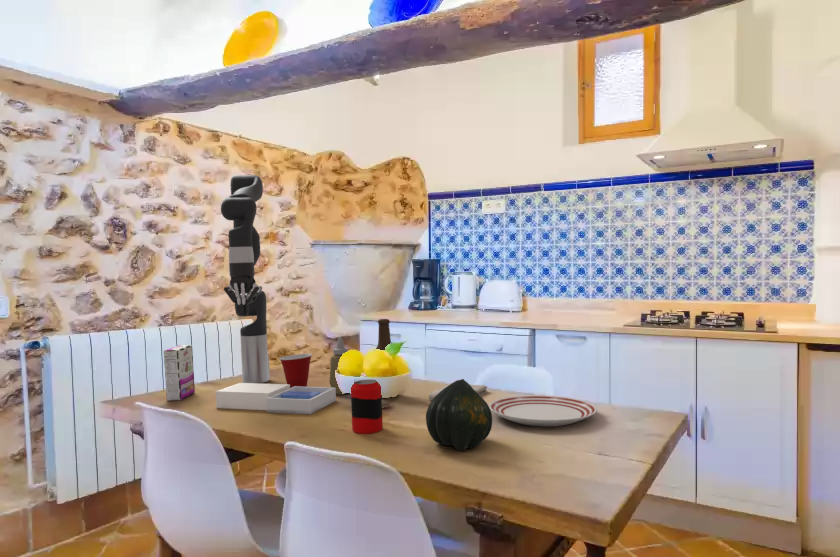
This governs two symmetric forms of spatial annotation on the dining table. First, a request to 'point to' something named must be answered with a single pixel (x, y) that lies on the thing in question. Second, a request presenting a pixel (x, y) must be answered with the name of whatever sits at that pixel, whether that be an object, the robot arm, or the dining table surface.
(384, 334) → the beer bottle
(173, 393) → the candy bar box
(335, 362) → the squeeze bottle
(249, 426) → the dining table surface
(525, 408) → the dinner plate
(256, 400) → the white flat block
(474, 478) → the dining table surface
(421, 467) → the dining table surface
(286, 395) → the tile
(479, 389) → the washcloth
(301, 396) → the tile
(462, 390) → the squash
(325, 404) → the box
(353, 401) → the soda can
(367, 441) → the dining table surface
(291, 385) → the plastic cup
